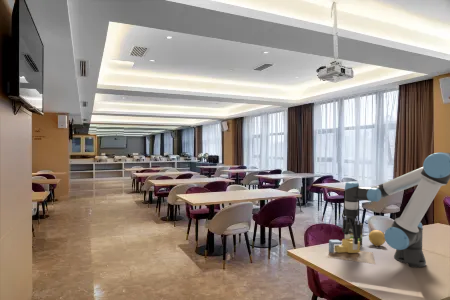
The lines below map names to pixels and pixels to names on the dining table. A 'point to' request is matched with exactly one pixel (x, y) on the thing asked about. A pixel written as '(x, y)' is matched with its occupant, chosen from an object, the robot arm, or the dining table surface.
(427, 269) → the dining table surface
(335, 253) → the board
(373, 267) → the dining table surface
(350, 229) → the coffee can
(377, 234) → the stress ball
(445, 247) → the dining table surface
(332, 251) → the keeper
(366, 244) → the dining table surface
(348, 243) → the link
